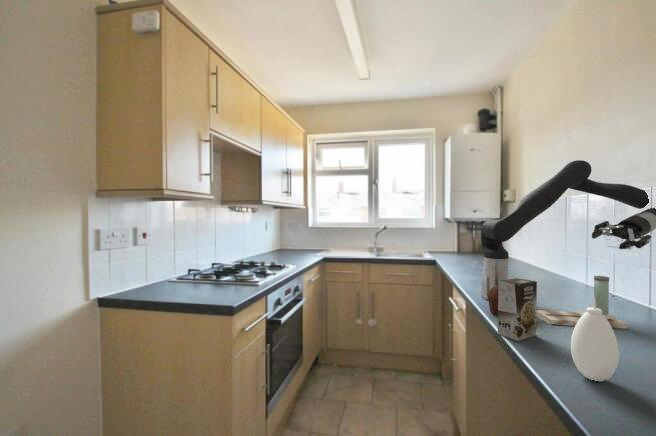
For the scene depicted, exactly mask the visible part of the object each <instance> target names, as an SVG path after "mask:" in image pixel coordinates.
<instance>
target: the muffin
mask: <svg viewBox="0 0 656 436" xmlns="http://www.w3.org/2000/svg"><path fill="white" fill-rule="evenodd" d="M487 296H488V300H487V301H488V307H489V312H491V313H490V314H491V315H493V316H495V315H496V316H495V317H498V296H499V285H498V286H495V287H493V288H491V289H490V290H489V291H488V293H487Z"/></svg>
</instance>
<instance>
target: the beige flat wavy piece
mask: <svg viewBox="0 0 656 436" xmlns="http://www.w3.org/2000/svg"><path fill="white" fill-rule="evenodd" d="M586 312H587V311H584V312H583V311H581V312H580V311H560V310H540V309H536V318H539V319H540V318H541V319H540V320H541V321H543V320H544V321H543V322H545V323H546V322H547V324H548V325H552V324H556V325H557V326H572V327H573V326H574V327H575V326H576V324H577V322H578V320H579V319H580V317H581V316H582V315H583V314H584V313H586ZM607 320H608V322H609V324H610V325H611V327H612V329H628V323H627V322H625V321H621V320H620V319H617V318H616V319H607Z"/></svg>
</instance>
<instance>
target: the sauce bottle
mask: <svg viewBox="0 0 656 436" xmlns="http://www.w3.org/2000/svg"><path fill="white" fill-rule="evenodd" d="M592 301H593V302H592V307H587V308H586V309H585V310H586V311H585V312H586V313H584V314H583V315H582V316H581V317H580V319H579V320H578V322H577V324H576V326H574V329H573V331H572V335H571V339H570V353H571V357H572V360H573V363H574V365H575V367H576V369H577V371H579V372H580V373H581V374H582V376H584V377H585V378H587V379H588V378H589V379H588V380H590V379H591V380H590V381H592V380H595V381H594V382H596V381H598V382H603V381H605V380H609V379H610V378H611V377H612V376H613V375H614V374H615V372H616V370H617V368H618V365H619V361H620V359H619V358H620V357H619V356H620V355H619V353H620V351H619V344H618V341H617V338H616V335H615V332H614V328H612V327H611V325H610V324H609V322H608V320H607V319H606V318H605V316H604V315H603V314H602V313H603V312H602V310H601V309H598V308H596V299H595V297H594V296H593V300H592Z"/></svg>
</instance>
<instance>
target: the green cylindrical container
mask: <svg viewBox="0 0 656 436" xmlns="http://www.w3.org/2000/svg"><path fill="white" fill-rule="evenodd" d="M593 282H594V283H593V284H594V285H593V298H594V297H595V299H596V308H598V309H601V310H602V312H603V313H602V314H603V315H604V316H605V318H606V319H617V316H616V315H614V314H612V313H609V303H610V302H609V301H610V299H609V296H610V294H609V293H610V277H609V276H605V275H594V276H593Z"/></svg>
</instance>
